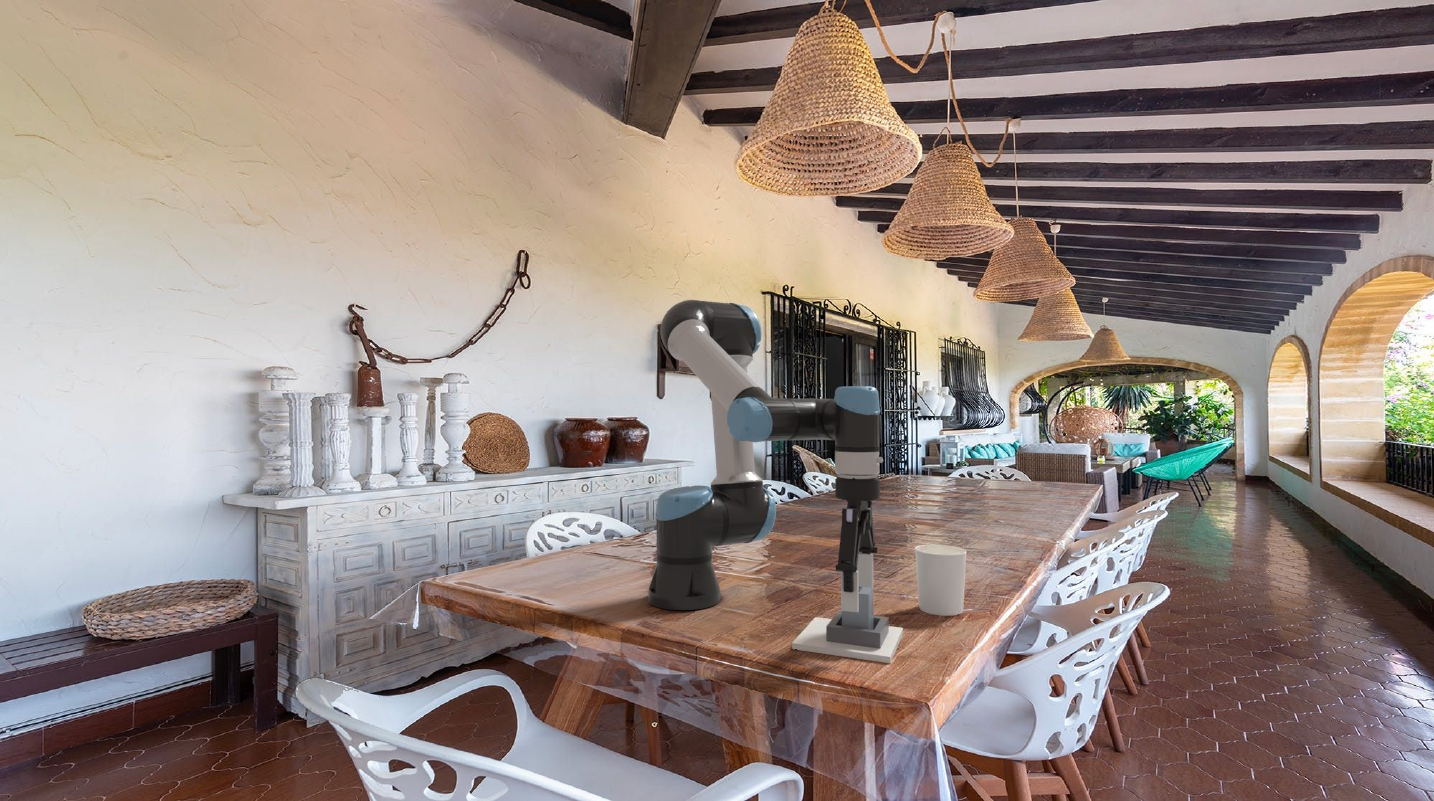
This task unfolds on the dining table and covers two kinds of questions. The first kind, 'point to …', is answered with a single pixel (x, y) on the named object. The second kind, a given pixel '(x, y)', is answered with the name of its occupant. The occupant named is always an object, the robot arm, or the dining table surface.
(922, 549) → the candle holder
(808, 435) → the robot arm
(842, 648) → the charging dock
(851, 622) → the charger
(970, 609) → the dining table surface
